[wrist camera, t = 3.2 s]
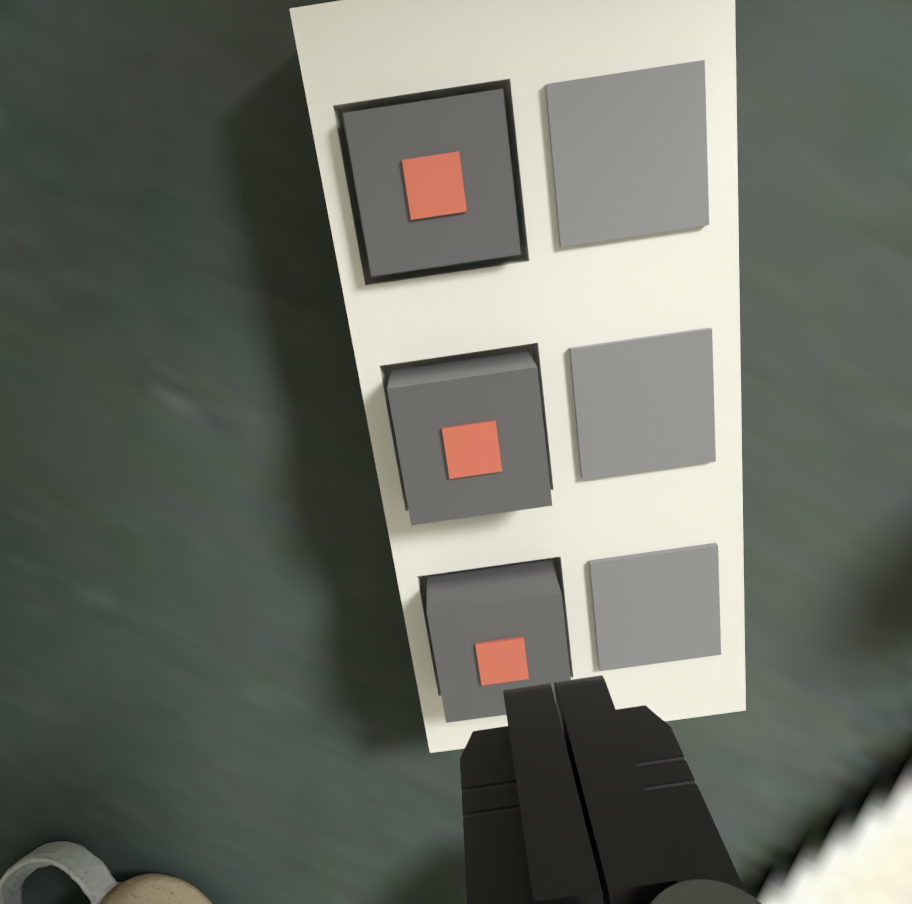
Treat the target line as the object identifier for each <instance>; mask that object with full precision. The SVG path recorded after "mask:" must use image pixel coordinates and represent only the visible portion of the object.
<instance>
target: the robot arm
mask: <svg viewBox="0 0 912 904" xmlns="http://www.w3.org/2000/svg"><path fill="white" fill-rule="evenodd" d="M554 690H555V698H556V702H555V698H554V694H553V690H552V687H551V684H550V683H548V684H541V685H534V686H528V687H521V688H514V689H508V690H503V694H504V701H505V708H506V715H507V722H508V726H504V727H498V728H491V729H484V730H478V731H473V732H472V734H471V736H470V738H469V741H468V743H467V745H466V747H465V749H464V751H463V753H462V756H461V758H460V767H461V787H462V806H463V818H464V820H463V826H464V845H465V865H466V884H467V904H761V903H760V902H758V901H757V900H756V899H755V898H754V897H752V896H751V895H750V894H749V892H748V891H747V890H746V888H745V887H744V885H743V884H742V882H741V880H740V878H739V876H738V874H737V872H736V870H735V868H734V865H733V863H732V861H731V859H730V857H729V854H728V852H727V850H726V848H725V846H724V843H723V841H722V839H721V837H720V835H719V832H718V830H717V828H716V826H715V824H714V821H713V819H712V817H711V815H710V812H709V810H708V808H707V806H706V804H705V801H704V799H703V797H702V795H701V793H700V790H699V788H698V786H697V785H696V784H695V781H694V777H693V775H692V773H691V771H690V768H689V766H688V764H687V762H686V761H685V760H684V756H683V753H682V751H681V749H680V746H679V744H678V742H677V740H676V738H675V735H674V733H673V731H672V729H671V727H670V726H669V725H668V724H667V723H665V722H664V721H663V720H662V719H661V718H660V717H658V716H657V715H656V714H655V713H654V712H653V711H652V710H650V709H649V708H648V707H647V706H646V705H644V706H637V707H630V708H624V709H617V710H616V709H615V707H614V704H613V701H612V698H611V696H610V693H609V690H608V687H607V685H606V682H605V679H604V677H603V676H602V675H600V676H593V677H586V678H580V679H573V680H566V681H560V682H554Z"/></svg>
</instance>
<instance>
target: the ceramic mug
mask: <svg viewBox="0 0 912 904" xmlns="http://www.w3.org/2000/svg"><path fill="white" fill-rule="evenodd" d="M49 865H54V866H56V867H58V868H60V869H61V870H63V871H65V872H66V873H67V874H68V875H69V876H70V877H71V878H72V879H73V880H74V881H75V882H76V883H77V884H78V885H79V886H80V887H81V889H82V891H83V892H84V893H85V894H86V896H87V897H88V898H89V900H90V902H91V904H212V903H211V901H210V900H209V899H208V898H207V897H206V896H205V895H204V894H203V893H202V892H201V891H199V890H198V889H197V888H196V887H194V886H193V885H191V884H189V883H187V882H186V881H184V880H182V879H180V878H176V877H173V876H169V875H166V874H160V873H149V874H143V875H138V876H135V877H133V878H130V879H128V880H126V881H124V882H117V881H116V880H115V878H114V877H113V876H112V875H111V872H110V870H109V869H108V868H107V866H106V865H105V864H104V862H103V861H102V860H101V859H99V858H98V857H96V856H95V855H94V854H93V853H92V852H90V851H88V850H87V849H86V848H85V847H83V846H81V845H79V844H76V843H71V842H69V841H58V842H51V843H47V844H44V845H42V846H40V847H38V848H37V849H35V850H34V851H32V852H31V853H29V854H28V855H26V856H25V857H24V858H22V859H21V860H19V861H18V862H16V863H15V864H14V865H13V866H12V867H11V868H9V869H8V870H7V871H6V872H5V874H4V875H3V877H2V878H1V880H0V904H22V885H23V883H24V881H25V878H26V877H27V876H29V875H30V874H31V873H32V872H33V871H34V870H36V869H37V868H39V867H46V866H49Z"/></svg>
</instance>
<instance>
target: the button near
mask: <svg viewBox="0 0 912 904" xmlns="http://www.w3.org/2000/svg"><path fill="white" fill-rule="evenodd" d="M343 118H344V123H345V129H346V135H347V140H348V146H349V152H350V157H351V163H352V169H353V175H354V180H355V186H356V192H357V197H358V203H359V209H360V215H361V220H362V226H363V232H364V237H365V243H366V249H367V254H368V260H369V266H370V272H371V276H378V275H385V274H391V273H398V272H405V271H412V270H418V269H425V268H432V267H439V266H445V265H452V264H459V263H466V262H472V261H479V260H486V259H493V258H500V257H506V256H513V255H520V254H521V250H520V241H519V232H518V223H517V214H516V204H515V195H514V186H513V177H512V168H511V159H510V149H509V140H508V131H507V122H506V113H505V104H504V94H503V89H498V90H491V91H485V92H478V93H472V94H465V95H458V96H452V97H445V98H439V99H432V100H426V101H419V102H413V103H406V104H399V105H393V106H386V107H380V108H373V109H367V110H360V111H353V112H347V113H343Z"/></svg>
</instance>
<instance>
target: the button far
mask: <svg viewBox="0 0 912 904" xmlns="http://www.w3.org/2000/svg"><path fill="white" fill-rule="evenodd" d="M427 617H428V623H429V629H430V634H431V640H432V646H433V651H434V657H435V663H436V668H437V674H438V679H439V685H440V691H441V696H442V702H443V708H444V713H445V719H446V723H449V722H456V721H464V720H471V719H478V718H486V717H493V716H500V715H506V708H505V701H504V694H503V690H508V689H514V688H521V687H528V686H534V685H541V684H548V683H550V684H551V687H552V690H553V694H554V698H555V690H554V682H560V681H566V680H571V675H570V666H569V657H568V647H567V638H566V629H565V620H564V610H563V601H562V593H561V590H560V586H559V583H558V580H557V577H556V574H555V571H554V567H553V564H552V561H551V559H545V560H538V561H531V562H523V563H516V564H509V565H502V566H495V567H488V568H480V569H473V570H466V571H459V572H452V573H445V574H437V575H430V576H427ZM555 702H556V698H555Z"/></svg>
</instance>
